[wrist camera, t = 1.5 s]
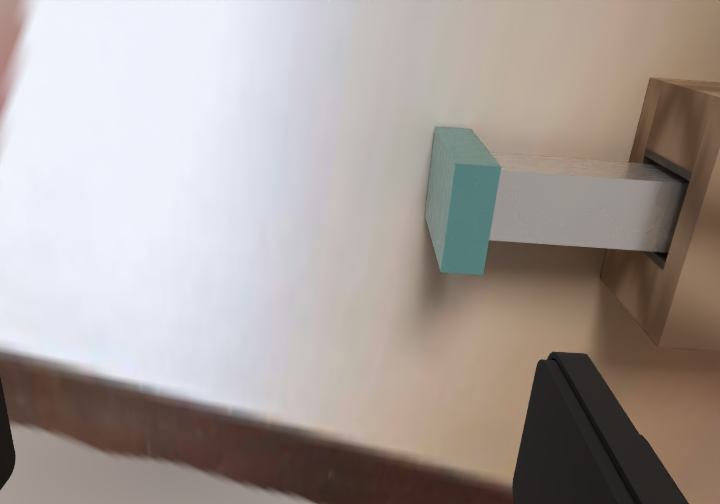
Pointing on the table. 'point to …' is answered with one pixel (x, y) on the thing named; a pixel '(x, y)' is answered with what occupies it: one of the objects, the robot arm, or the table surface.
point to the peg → (542, 202)
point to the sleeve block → (694, 227)
